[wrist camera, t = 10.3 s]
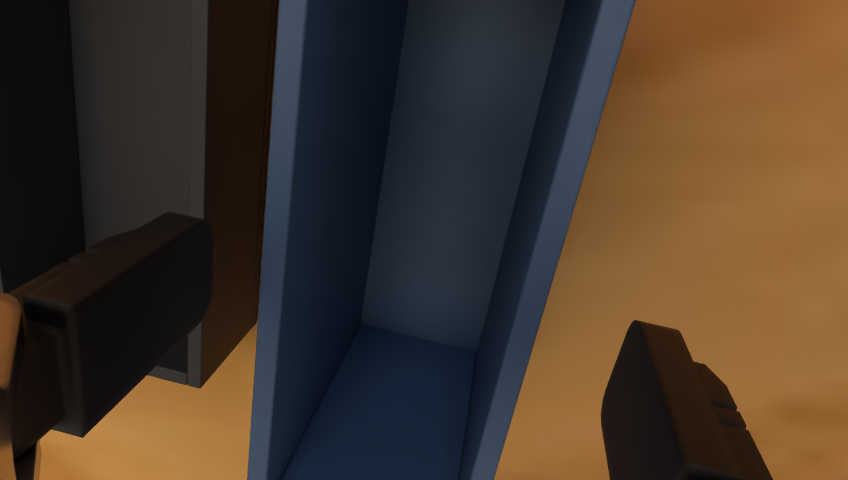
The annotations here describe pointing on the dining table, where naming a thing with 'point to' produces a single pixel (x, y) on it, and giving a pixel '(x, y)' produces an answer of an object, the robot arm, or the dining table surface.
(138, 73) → the black bin
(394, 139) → the blue tote
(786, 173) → the dining table surface
